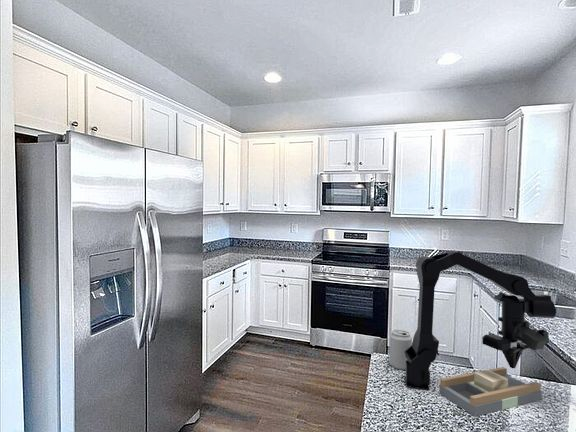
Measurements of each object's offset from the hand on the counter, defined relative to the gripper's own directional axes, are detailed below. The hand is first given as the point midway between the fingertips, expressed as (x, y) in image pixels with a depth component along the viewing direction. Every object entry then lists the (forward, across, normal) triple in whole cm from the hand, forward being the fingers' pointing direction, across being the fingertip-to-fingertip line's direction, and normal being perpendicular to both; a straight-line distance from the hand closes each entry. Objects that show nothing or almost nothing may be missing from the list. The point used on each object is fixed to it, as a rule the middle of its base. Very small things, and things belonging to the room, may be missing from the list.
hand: (512, 367), depth 99 cm
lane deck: (+7, -9, 0) cm, 12 cm away
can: (+7, -21, +25) cm, 33 cm away
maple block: (+5, -9, 0) cm, 10 cm away
